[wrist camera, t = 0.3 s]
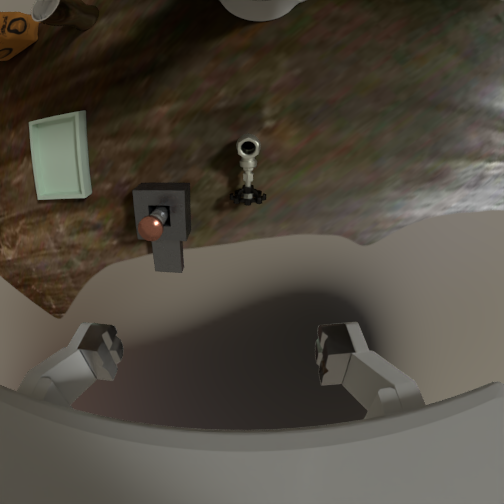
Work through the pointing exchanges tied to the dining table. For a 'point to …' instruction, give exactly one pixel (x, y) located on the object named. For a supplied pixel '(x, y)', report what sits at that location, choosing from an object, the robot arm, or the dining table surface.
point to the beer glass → (65, 13)
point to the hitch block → (175, 226)
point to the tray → (60, 156)
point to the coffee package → (16, 33)
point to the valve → (248, 172)
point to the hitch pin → (154, 223)
